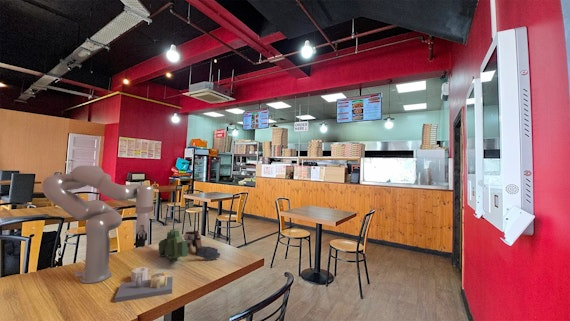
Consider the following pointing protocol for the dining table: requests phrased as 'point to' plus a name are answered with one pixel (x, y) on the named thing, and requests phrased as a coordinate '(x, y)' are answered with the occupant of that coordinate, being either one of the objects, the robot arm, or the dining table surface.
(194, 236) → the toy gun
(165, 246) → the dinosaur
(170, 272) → the dining table surface
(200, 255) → the stone
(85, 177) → the robot arm
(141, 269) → the loose gear
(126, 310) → the dining table surface
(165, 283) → the gear board
